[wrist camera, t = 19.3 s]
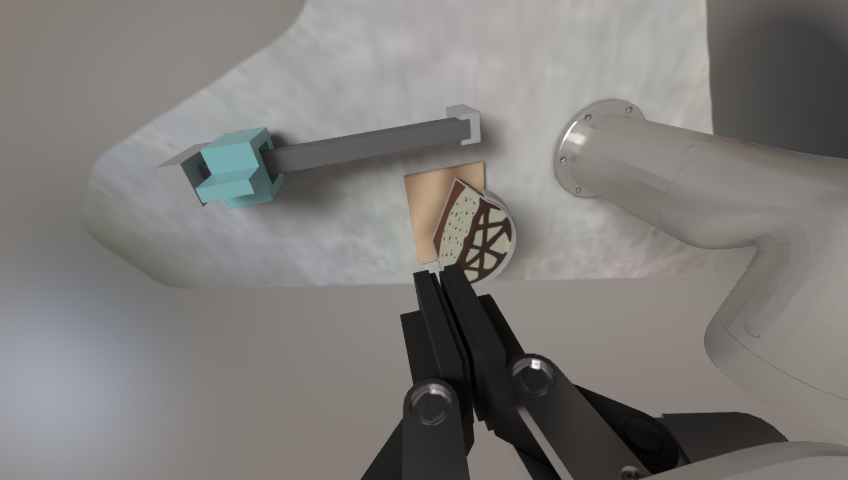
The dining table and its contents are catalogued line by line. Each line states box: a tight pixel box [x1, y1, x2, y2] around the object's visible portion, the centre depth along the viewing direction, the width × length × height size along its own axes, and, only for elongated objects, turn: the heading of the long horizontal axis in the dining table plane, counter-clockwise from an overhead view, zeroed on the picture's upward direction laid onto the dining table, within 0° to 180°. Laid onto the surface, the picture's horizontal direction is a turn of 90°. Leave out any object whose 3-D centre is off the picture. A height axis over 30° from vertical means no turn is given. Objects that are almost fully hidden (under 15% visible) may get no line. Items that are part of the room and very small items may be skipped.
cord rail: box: [155, 104, 481, 211], centre depth 32 cm, size 29×4×8 cm, turn 98°
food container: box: [431, 177, 516, 289], centre depth 39 cm, size 12×6×10 cm, turn 162°
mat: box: [404, 161, 484, 264], centre depth 43 cm, size 10×13×1 cm
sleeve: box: [195, 127, 285, 209], centre depth 30 cm, size 4×6×10 cm
